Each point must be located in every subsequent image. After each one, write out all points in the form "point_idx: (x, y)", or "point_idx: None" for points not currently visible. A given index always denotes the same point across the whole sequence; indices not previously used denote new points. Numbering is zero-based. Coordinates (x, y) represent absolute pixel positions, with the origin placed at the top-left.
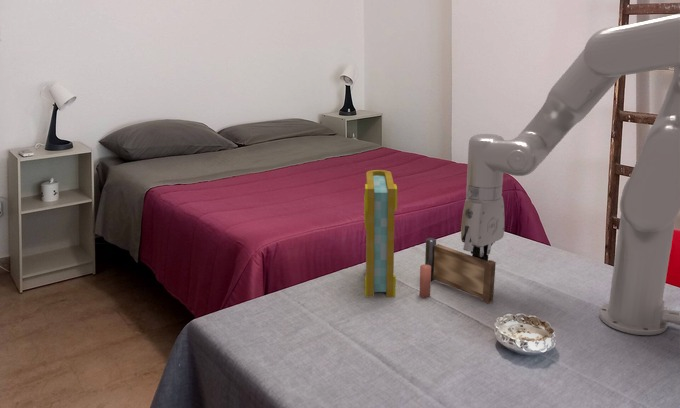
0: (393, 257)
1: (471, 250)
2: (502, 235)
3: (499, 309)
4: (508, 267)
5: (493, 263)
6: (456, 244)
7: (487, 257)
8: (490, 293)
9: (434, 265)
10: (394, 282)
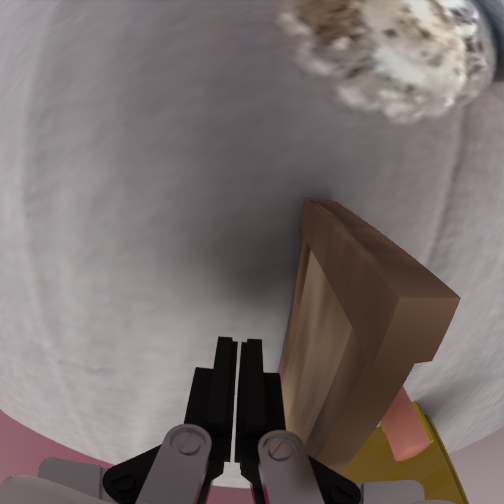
0: (451, 480)
1: (382, 487)
2: (19, 501)
3: (337, 145)
4: (25, 313)
5: (429, 294)
6: (68, 434)
7: (217, 408)
8: (341, 211)
9: None
10: (428, 429)
